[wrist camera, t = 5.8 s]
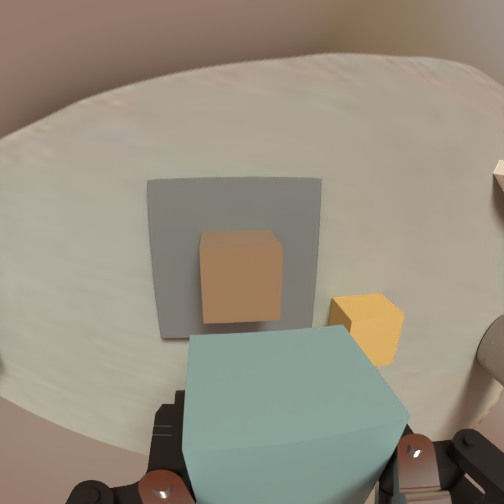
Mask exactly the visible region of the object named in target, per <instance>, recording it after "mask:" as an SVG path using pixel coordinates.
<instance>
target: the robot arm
mask: <svg viewBox="0 0 504 504" xmlns="http://www.w3.org/2000/svg"><path fill="white" fill-rule="evenodd" d="M477 361H478V363H479V364H480V365H481V366H482V367H483V368H484V369H485V370H486V371H487V372H488V373H489V374H491V375H492V376H493V377H494V378H495V379H496V380H497V381H498V382H499V383H500V384H501V385H502V386H504V315H503V316H501V317H499V318H498V319H497V320H496V321H495V322H494V323H493V324H492V325H491V326H490V328H489V329H488V331H487V332H486V334H485V335H484V337H483V339H482V341H481V343H480V346H479V349H478V352H477ZM184 403H185V390H184V391H176V394H175V403H174V404H162V406H161V407H160V408H159V410H158V411H157V412H156V414H155V420H154V427H153V436H152V440H151V448H150V455H149V463H148V470H147V472H146V474H145V475H144V476H143V477H142V478H141V479H140V480H139V481H138V482H136V483H134V484H131V485H127V486H121V487H114V488H109V487H108V486H107V485H106V484H104V483H102V482H100V481H96V480H88V481H83V482H81V483H79V484H78V485H76V486H75V487H74V489H73V490H72V492H71V494H70V496H69V498H68V500H67V502H66V504H196V502H197V501H196V498H195V494H194V491H193V488H192V484H191V481H190V477H189V474H188V470H187V467H186V463H185V459H184V455H183V452H182V439H183V420H184ZM466 473H467V474H468V475H469V476H470V477H471V478H472V479H473V480H474V481H475V482H476V483H478V484H479V485H480V486H481V487H482V488H483V489H484V491H485V494H483V493H482V492H481V491H479V489H478V488H476V487H475V486H474V485H473V484H472V483H471V482H470V481H469V480H468V479H467V478H466V477H465V476H464V475H465V474H466ZM375 504H504V453H503V452H502V451H501V450H499V449H498V448H497V447H496V446H495V445H493V444H492V443H491V442H490V441H489V440H487V439H486V438H485V437H484V436H483V435H481V434H480V433H479V432H478V431H476V430H473V429H462V430H460V431H458V432H457V433H456V434H455V436H454V437H453V439H452V440H445V441H436V442H432V441H431V440H430V439H429V438H428V437H426V436H424V435H421V434H415V433H413V431H412V430H411V429H410V427H409V426H408V424H406V427H405V429H404V431H403V433H402V435H401V437H400V439H399V441H398V444H397V446H396V448H395V450H394V452H393V453H392V455H391V457H390V459H389V461H388V463H387V465H386V467H385V469H384V470H383V472H382V474H381V476H380V478H379V479H378V482H377V483H376V487H375Z"/></svg>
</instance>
